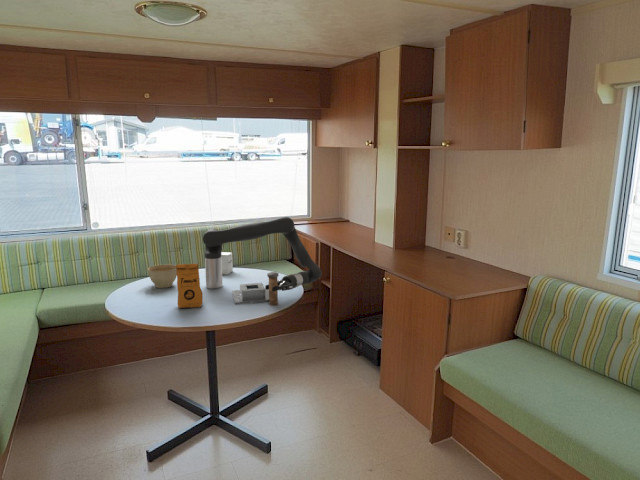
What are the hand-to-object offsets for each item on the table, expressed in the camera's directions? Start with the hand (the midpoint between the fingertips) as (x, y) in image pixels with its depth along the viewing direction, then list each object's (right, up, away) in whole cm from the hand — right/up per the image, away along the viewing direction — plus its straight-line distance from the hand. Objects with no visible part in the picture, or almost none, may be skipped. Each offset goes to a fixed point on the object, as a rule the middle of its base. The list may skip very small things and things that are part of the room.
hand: (269, 288), depth 229 cm
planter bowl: (-64, -2, +33) cm, 72 cm away
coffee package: (-40, -9, 0) cm, 41 cm away
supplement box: (-35, +3, +61) cm, 70 cm away
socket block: (-11, -6, +15) cm, 19 cm away
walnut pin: (+2, -8, +4) cm, 9 cm away
